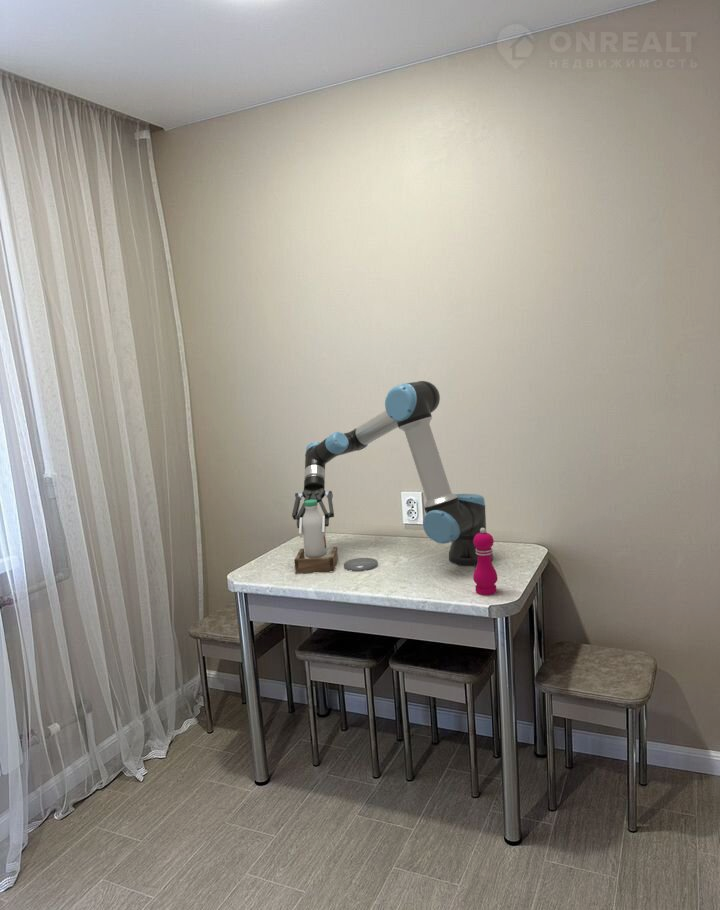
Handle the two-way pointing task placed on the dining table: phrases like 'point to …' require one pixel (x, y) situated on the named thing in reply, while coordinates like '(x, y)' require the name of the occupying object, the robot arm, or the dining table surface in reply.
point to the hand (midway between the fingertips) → (312, 534)
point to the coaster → (361, 564)
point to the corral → (315, 563)
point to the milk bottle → (313, 531)
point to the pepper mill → (484, 564)
